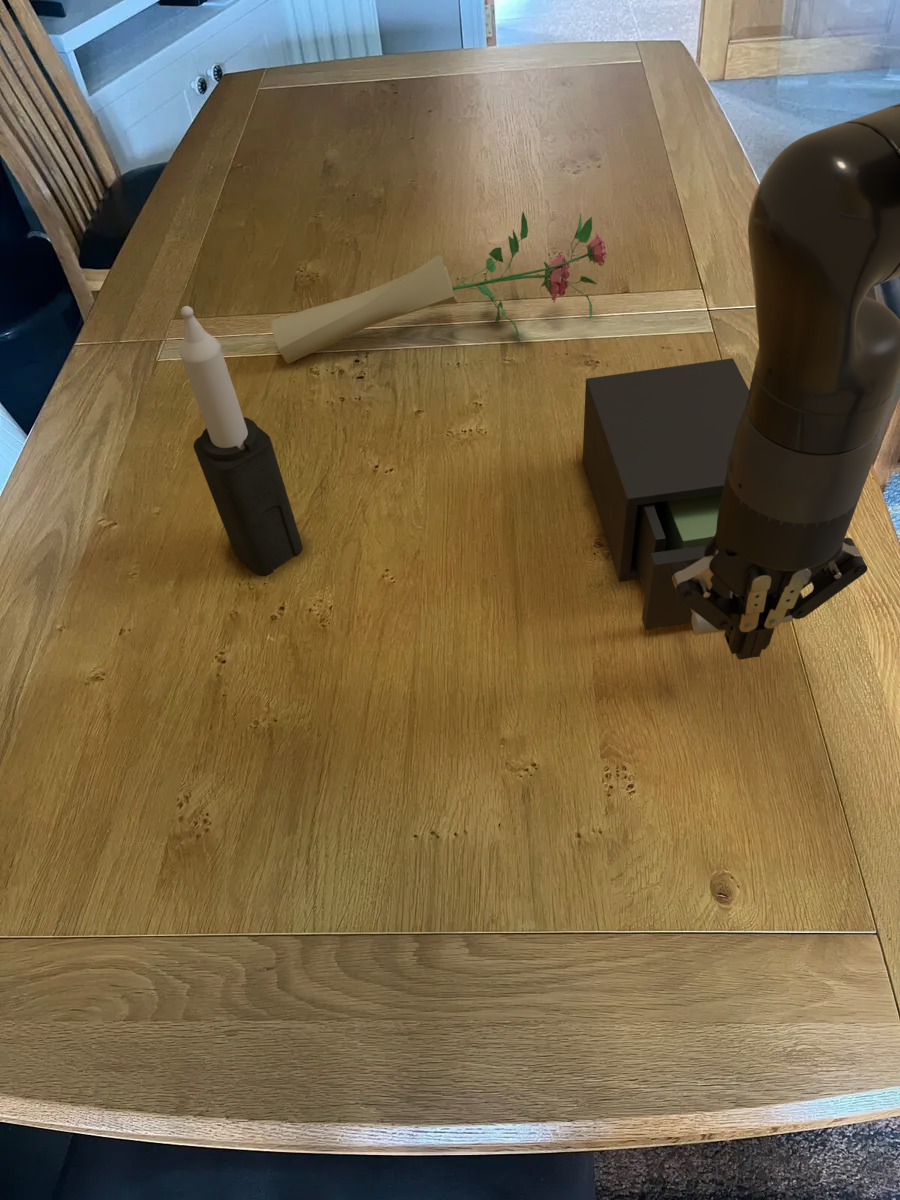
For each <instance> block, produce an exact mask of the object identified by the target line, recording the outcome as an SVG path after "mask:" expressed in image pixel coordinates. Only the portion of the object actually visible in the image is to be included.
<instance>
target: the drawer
mask: <svg viewBox="0 0 900 1200" xmlns="http://www.w3.org/2000/svg"><path fill="white" fill-rule="evenodd" d="M665 504H666V501H664V502H657V503H650V504H643V505H638V507H637V516H636V525H635V534H634V543H633V552H632V556H633V559H634V562H635V565H636V568H637V571H638V574H639V577H640V579H639V580H640V583H641V586H642V589H643V592H644V599H643V604H642V605H643V606H642V612H641V613H642V614H641V622H642V625H643V628H644V630H645V631H651V630H657V629H664V628H670V627H671V628H672V627H677V626H678V627H679V626H684V625H691V627H692V631H693V633H694V634H695V635H696V636H701V635H707V634H714V633H721V632H722V633H723V632H725V630H718V629H716V628H715V627H714V626H712V625H711V624H710V623H709V622H707V621H706V620H705V619H703V618H702V617H701V616H700V615H698V614H697V613H696V612H695V611H693V610H692V609H691V608H689V607H688V606H687V605H686V604H684V603H683V602H682V601H681V600H680V599H679V597H678V594H677V591H676V589H675V586H674V583H673V580H672V578H671V575H670V572H669V567H670V566H671V565H672V564H674V563H676V562H685V563H686V564H687V565H689V566H690V565H692V564H694V563H695V562H697V561H699V560H700V559H702V558H704V557H705V555H704V551H705V547H706V545H704V546H697V547H690V548H683V549H676V550H669V551H665V549H664V547H665V540H666V537H665V534H664V532H663V529H662V525H663V518H664V511H665ZM711 582H712V586H714V587H715V588H716V589H717V590H718V591H720V592H721V593H722V595H723V598H729V597H730V589H729V588H728V587H727V586H726V585H724V584H723V583H722V582H721V581H720V580H719V579H718V578H717V577H716V576H715V575H713V576H712V577H711ZM792 621H794V618H792V616H791V615H790V616H787V617H784V618H783V620H782V623H781V624H783V623H785V624H786V623H791V622H792Z"/></svg>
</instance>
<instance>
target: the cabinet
mask: <svg viewBox="0 0 900 1200" xmlns="http://www.w3.org/2000/svg"><path fill="white" fill-rule="evenodd" d="M749 390H750V387H748V385H747V382H746V381H745V379H744V376H743V375H742V373H741V370H740V369H739V367H738V365H737V363H736V361H735V359H734V358H733V357H731V358H725V359H717V360H710V361H703V362H696V363H687V364H681V365H674V366H667V367H659V368H653V369H646V370H645V369H644V370H638V371H631V372H630V371H629V372H623V373H617V374H610V375H601V376H594V377H587V378H585V392H584V393H585V394H584V412H583V413H584V415H583V436H582V437H583V438H582V463H581V464H582V466H583V470H584V474H585V476H586V479H587V483H588V486H589V490H590V492H591V496H592V500H593V502H594V505H595V509H596V511H597V515H598V519H599V522H600V524H601V527H602V531H603V535H604V537H605V540H606V544H607V548H608V550H609V554H610V557H611V561H612V563H613V566H614V570H615V573H616V575H617V576H616V577H617V580H618V582H627V581H633V580H640V577H639V574H638V571H637V568H636V565H635V562H634V559H633V556H632V552H633V543H634V534H635V525H636V516H637V507H638V505H643V504H650V503H657V502H664V501H672V500H679V499H686V498H693V497H700V496H707V495H714V494H721V493H723V488H724V483H725V478H726V474H727V462H728V457H729V454H730V452H731V450H732V446H733V441H734V437H735V433H736V429H737V426H738V423H739V421H740V418H741V416H742V414H743V411H744V409H745V405H746V402H747V399H748V394H749Z"/></svg>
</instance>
